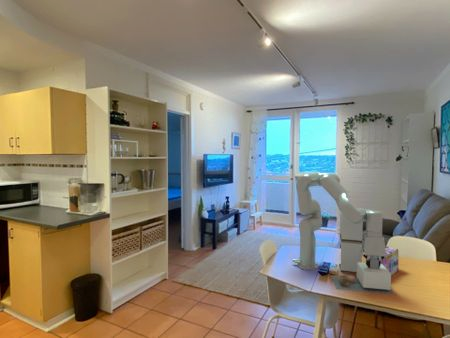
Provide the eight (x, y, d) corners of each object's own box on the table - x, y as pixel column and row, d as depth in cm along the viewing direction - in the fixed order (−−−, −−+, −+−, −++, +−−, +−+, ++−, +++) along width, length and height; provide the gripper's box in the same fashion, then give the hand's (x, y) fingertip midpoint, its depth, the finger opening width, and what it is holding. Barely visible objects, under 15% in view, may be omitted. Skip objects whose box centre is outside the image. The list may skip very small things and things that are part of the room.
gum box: (386, 266, 178) (386, 245, 177) (399, 270, 171) (400, 248, 171) (368, 276, 163) (368, 253, 163) (382, 281, 157) (383, 257, 156)
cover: (363, 287, 144) (363, 262, 143) (356, 276, 157) (357, 253, 156) (390, 289, 141) (391, 264, 141) (381, 278, 154) (382, 255, 153)
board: (336, 290, 145) (336, 288, 145) (331, 277, 161) (331, 276, 161) (394, 296, 140) (395, 294, 140) (383, 282, 155) (383, 280, 155)
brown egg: (348, 282, 152) (348, 277, 152) (346, 280, 156) (346, 274, 156) (355, 283, 152) (355, 278, 151) (353, 280, 155) (353, 275, 155)
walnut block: (340, 286, 149) (341, 278, 148) (339, 282, 152) (339, 275, 152) (348, 286, 148) (349, 279, 148) (347, 283, 152) (347, 276, 152)
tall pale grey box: (358, 268, 173) (359, 213, 172) (361, 275, 163) (362, 217, 162) (339, 266, 177) (340, 212, 175) (340, 273, 167) (341, 216, 165)
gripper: (359, 234, 146) (358, 268, 147) (393, 236, 142) (392, 271, 143) (355, 230, 153) (354, 263, 154) (388, 232, 150) (387, 265, 151)
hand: (373, 266), depth 149 cm, fingers closed on cover, 4 cm apart
